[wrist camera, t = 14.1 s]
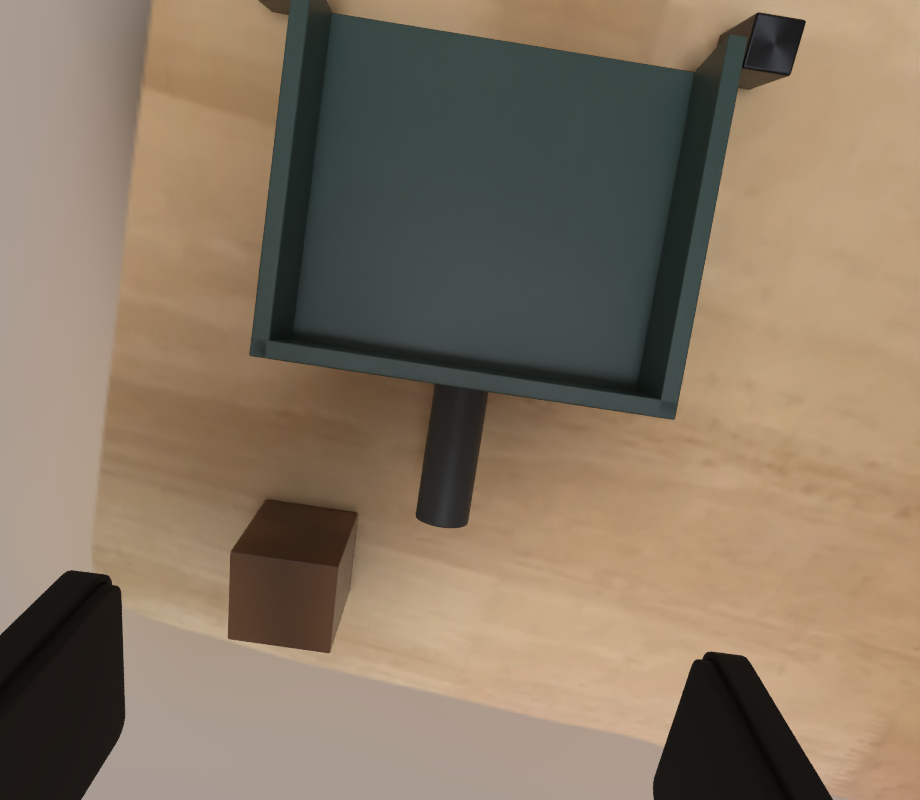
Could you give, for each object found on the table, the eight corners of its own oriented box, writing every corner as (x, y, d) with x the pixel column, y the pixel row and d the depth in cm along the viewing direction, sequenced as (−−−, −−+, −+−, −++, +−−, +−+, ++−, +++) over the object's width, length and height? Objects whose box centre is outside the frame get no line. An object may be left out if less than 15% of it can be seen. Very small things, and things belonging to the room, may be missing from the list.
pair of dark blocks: (272, -40, 22) (240, -75, 19) (763, 41, 23) (807, 19, 20) (270, 11, 23) (238, -15, 20) (750, 89, 23) (790, 76, 20)
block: (261, 577, 31) (227, 639, 27) (265, 499, 29) (230, 551, 25) (349, 590, 31) (329, 654, 27) (358, 512, 29) (338, 567, 25)
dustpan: (230, 514, 21) (265, 486, 24) (645, 574, 21) (616, 537, 25) (294, -39, 19) (321, 23, 23) (748, 36, 19) (700, 85, 23)
